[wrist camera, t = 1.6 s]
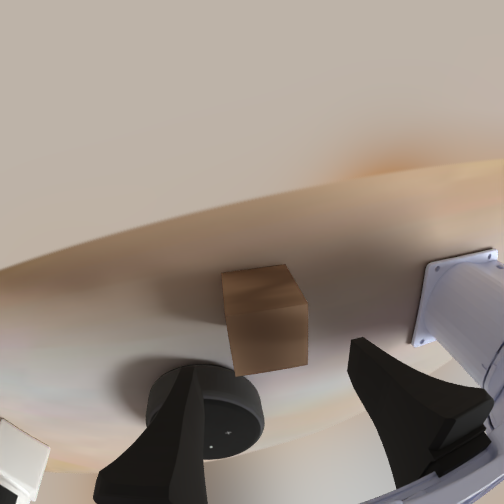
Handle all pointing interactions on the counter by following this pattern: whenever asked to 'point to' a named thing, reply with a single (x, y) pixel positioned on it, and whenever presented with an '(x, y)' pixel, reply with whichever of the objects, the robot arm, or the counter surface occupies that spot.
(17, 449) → the medicine bottle
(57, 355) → the counter surface
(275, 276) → the walnut block
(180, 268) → the counter surface
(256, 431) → the smart speaker
